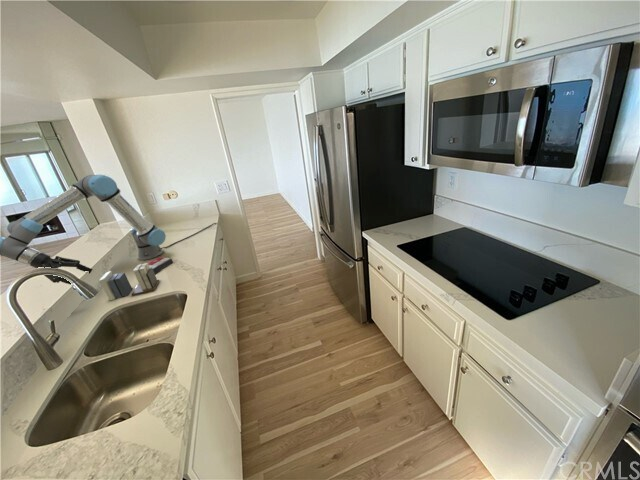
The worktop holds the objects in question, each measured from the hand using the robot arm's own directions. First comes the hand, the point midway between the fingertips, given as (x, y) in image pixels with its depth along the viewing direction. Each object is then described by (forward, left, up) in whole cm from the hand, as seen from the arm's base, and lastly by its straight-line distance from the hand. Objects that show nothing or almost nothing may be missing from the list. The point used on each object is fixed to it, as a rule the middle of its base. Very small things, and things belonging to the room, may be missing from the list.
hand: (84, 277), depth 139 cm
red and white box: (-35, -4, -14) cm, 38 cm away
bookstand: (-19, +16, -14) cm, 29 cm away
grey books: (-10, +9, -14) cm, 20 cm away
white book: (-7, +6, -14) cm, 17 cm away
